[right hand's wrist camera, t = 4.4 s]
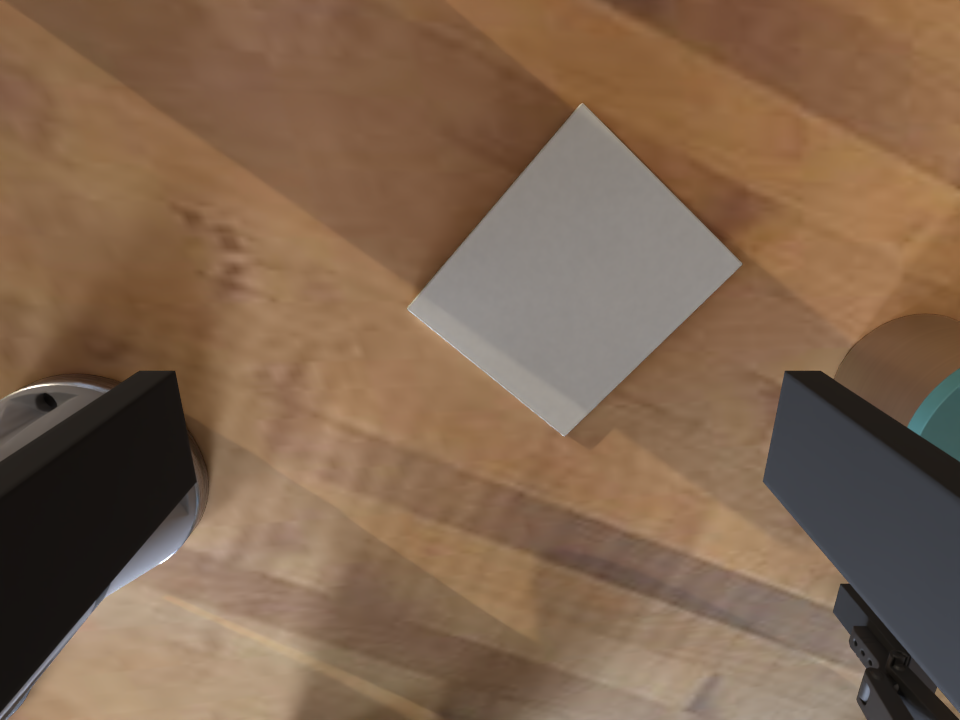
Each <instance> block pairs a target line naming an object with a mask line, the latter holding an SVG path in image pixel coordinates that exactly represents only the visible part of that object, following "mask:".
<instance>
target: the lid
mask: <svg viewBox="0 0 960 720" xmlns="http://www.w3.org/2000/svg"><path fill="white" fill-rule="evenodd" d="M907 428H909V429H910V430H912V431H914V432H915V433H917V434H918V435H920V436H921V437H923V438H924V439H926V440H927V441H929V442H930V443H932V444H933V445H935V446H937V447H938V448H940V449H941V450H943V451H944V452H946V453H947V454H949V455H950V456H952V457H953V458H955V459H956V460H958V461H960V368H959V369H957V370H956V371H955V372H953V373H952V374H950V375H949V376H948V377H946V378H945V379H944V380H943V381H942V382H941V383H940V384H939V385H938V386H936V387H935V388H934V389H933V391H932V392H931V393H930V394H929V395H928V396H927V397H926V398H925V399H924V401H923V402H922V403H921V405H920V406H919V407H918V409H917V410H916V412H915V413H914V415H913V417H912V419H911V420H910V422H909V424H908V426H907Z"/></svg>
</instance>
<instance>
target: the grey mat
mask: <svg viewBox="0 0 960 720" xmlns="http://www.w3.org/2000/svg"><path fill="white" fill-rule="evenodd" d="M741 265H742V262H741V261H740V260H739V259H738V258H737V257H736V256H735V255H734V254H733V253H732V252H731V251H730V250H729V249H728V248H727V247H726V246H725V245H724V244H723V243H722V242H721V241H720V240H719V239H718V238H717V237H716V236H715V235H714V234H713V233H712V232H711V231H710V230H709V229H708V228H707V227H706V226H705V225H704V224H703V223H702V222H701V221H700V220H699V219H698V218H697V217H696V216H695V215H694V214H693V213H692V212H691V211H690V210H689V209H688V208H687V207H686V206H685V205H684V204H683V203H682V202H681V201H680V200H679V199H678V198H677V197H676V196H675V195H674V194H673V193H672V192H671V191H670V190H669V189H668V188H667V187H666V186H665V185H664V184H663V183H662V182H661V181H660V180H659V179H658V178H657V177H656V176H655V175H654V174H653V173H652V172H651V171H650V170H649V169H648V168H647V167H646V166H645V165H644V164H643V163H642V162H641V161H640V160H639V159H638V158H637V157H636V156H635V155H634V154H633V153H632V152H631V151H630V150H629V149H628V148H627V147H626V146H625V145H624V144H623V143H622V142H621V141H620V140H619V139H618V138H617V137H616V136H615V135H614V134H613V133H612V132H611V131H610V130H609V129H608V128H607V127H606V126H605V125H604V124H603V123H602V122H601V121H600V120H599V119H598V118H597V117H596V116H595V115H594V114H593V113H592V112H591V111H590V110H589V109H588V108H587V107H586V106H585V105H584V104H583V103H581V104H580V105H579V106H578V107H577V108H576V110H575V111H574V112H573V113H572V114H571V116H570V117H569V118H568V119H567V120H566V121H565V123H564V124H563V125H562V126H561V127H560V128H559V130H558V131H557V132H556V133H555V134H554V136H553V137H552V138H551V139H550V140H549V141H548V143H547V144H546V145H545V146H544V147H543V148H542V150H541V151H540V152H539V153H538V154H537V156H536V157H535V158H534V159H533V160H532V161H531V163H530V164H529V165H528V166H527V167H526V168H525V170H524V171H523V172H522V173H521V174H520V175H519V177H518V178H517V179H516V180H515V181H514V183H513V184H512V185H511V186H510V187H509V188H508V190H507V191H506V192H505V193H504V194H503V195H502V197H501V198H500V199H499V200H498V201H497V203H496V204H495V205H494V206H493V207H492V208H491V210H490V211H489V212H488V213H487V214H486V215H485V217H484V218H483V219H482V220H481V221H480V223H479V224H478V225H477V226H476V227H475V228H474V230H473V231H472V232H471V233H470V234H469V235H468V237H467V238H466V239H465V240H464V241H463V242H462V244H461V245H460V246H459V247H458V248H457V250H456V251H455V252H454V253H453V254H452V255H451V257H450V258H449V259H448V260H447V261H446V262H445V264H444V265H443V266H442V267H441V268H440V270H439V271H438V272H437V273H436V274H435V275H434V277H433V278H432V279H431V280H430V281H429V282H428V284H427V285H426V286H425V287H424V288H423V290H422V291H421V292H420V293H419V294H418V295H417V297H416V298H415V299H414V300H413V301H412V302H411V304H410V305H409V306H408V308H407V309H408V310H409V311H410V312H411V313H412V314H414V315H415V316H416V317H417V318H419V319H420V320H421V321H422V322H423V323H425V324H426V325H427V326H428V327H430V328H431V329H432V330H433V331H435V332H436V333H437V334H438V335H440V336H441V337H442V338H443V339H444V340H446V341H447V342H448V343H449V344H451V345H452V346H453V347H454V348H456V349H457V350H458V351H459V352H460V353H462V354H463V355H464V356H465V357H467V358H468V359H469V360H470V361H472V362H473V363H474V364H475V365H477V366H478V367H479V368H480V369H481V370H483V371H484V372H485V373H486V374H488V375H489V376H490V377H491V378H493V379H494V380H495V381H496V382H497V383H499V384H500V385H501V386H502V387H504V388H505V389H506V390H507V391H509V392H510V393H511V394H512V395H514V396H515V397H516V398H517V399H518V400H520V401H521V402H522V403H523V404H525V405H526V406H527V407H528V408H530V409H531V410H532V411H533V412H534V413H536V414H537V415H538V416H539V417H541V418H542V419H543V420H544V421H546V422H547V423H548V424H549V425H550V426H552V427H553V428H554V429H555V430H557V431H558V432H559V433H560V434H562V435H563V436H564V437H565V436H566V435H567V434H568V433H569V432H570V431H571V430H572V429H573V428H574V427H575V426H576V425H577V424H578V423H579V422H580V421H581V420H582V419H583V418H584V417H585V416H586V415H588V414H589V413H590V412H591V411H592V410H593V409H594V408H595V407H596V406H597V405H598V404H599V403H600V402H601V401H602V400H603V399H604V398H605V397H606V396H607V395H608V394H609V393H610V392H611V391H612V390H613V389H614V388H615V387H616V386H617V385H618V384H620V383H621V382H622V381H623V380H624V379H625V378H626V377H627V376H628V375H629V374H630V373H631V372H632V371H633V370H634V369H635V368H636V367H637V366H638V365H639V364H640V363H641V362H642V361H643V360H644V359H645V358H646V357H647V356H648V355H649V354H651V353H652V352H653V351H654V350H655V349H656V348H657V347H658V346H659V345H660V344H661V343H662V342H663V341H664V340H665V339H666V338H667V337H668V336H669V335H670V334H671V333H672V332H673V331H674V330H675V329H676V328H677V327H678V326H679V325H680V324H681V323H683V322H684V321H685V320H686V319H687V318H688V317H689V316H690V315H691V314H692V313H693V312H694V311H695V310H696V309H697V308H698V307H699V306H700V305H701V304H702V303H703V302H704V301H705V300H706V299H707V298H708V297H709V296H710V295H711V294H712V293H713V292H715V291H716V290H717V289H718V288H719V287H720V286H721V285H722V284H723V283H724V282H725V281H726V280H727V279H728V278H729V277H730V276H731V275H732V274H733V273H734V272H735V271H736V270H737V269H738V268H739V267H740V266H741Z"/></svg>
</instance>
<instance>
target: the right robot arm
mask: <svg viewBox="0 0 960 720" xmlns="http://www.w3.org/2000/svg"><path fill="white" fill-rule="evenodd" d="M763 482H764V483H765V485H766V486H767V487H768V488H769V489H770V490H771V492H772V493H773V494H774V495H775V496H776V498H777V499H778V500H779V501H780V502H781V503H782V505H783V506H784V507H785V508H786V509H787V510H788V512H789V513H790V514H791V515H792V516H793V518H794V519H795V520H796V521H797V522H798V523H799V525H800V526H801V527H802V528H803V529H804V530H805V532H806V533H807V534H808V535H809V536H810V538H811V539H812V540H813V541H814V542H815V543H816V545H817V546H818V547H819V548H820V549H821V550H822V552H823V553H824V554H825V555H826V556H827V558H828V559H829V560H830V561H831V562H832V563H833V565H834V566H835V567H836V568H837V569H838V570H839V572H840V573H841V574H842V575H843V576H844V578H845V579H846V580H847V581H848V582H849V583H850V585H851V586H852V587H853V588H854V589H855V590H856V592H857V593H858V594H859V595H860V596H861V597H862V599H863V600H864V601H865V602H866V603H867V605H868V606H869V607H870V608H871V609H872V610H873V612H874V613H875V614H876V615H877V616H878V617H879V619H880V620H881V621H882V622H883V623H884V625H885V626H886V627H887V628H888V629H889V630H890V632H891V633H892V634H893V635H894V636H895V637H896V639H897V640H898V641H899V642H900V643H901V645H902V646H903V647H904V648H905V649H906V650H907V652H908V653H909V654H910V655H911V656H912V657H913V659H914V660H915V661H916V662H917V663H918V665H919V666H920V667H921V668H922V669H923V670H924V672H925V673H926V674H927V675H928V676H929V677H930V679H931V680H932V681H933V682H934V683H935V685H936V686H937V687H938V688H939V689H940V690H941V692H942V693H943V694H944V695H945V696H946V697H947V699H948V700H949V701H950V702H951V703H952V705H953V706H954V707H955V708H956V709H957V710H958V712H959V713H960V461H958V460H956V459H955V458H953V457H952V456H950V455H949V454H947V453H946V452H944V451H943V450H941V449H940V448H938V447H937V446H935V445H933V444H932V443H930V442H929V441H927V440H926V439H924V438H923V437H921V436H920V435H918V434H917V433H915V432H914V431H912V430H910V429H909V428H907V427H906V426H904V425H903V424H901V423H900V422H898V421H897V420H895V419H894V418H892V417H890V416H889V415H887V414H886V413H884V412H883V411H881V410H880V409H878V408H877V407H875V406H874V405H872V404H871V403H869V402H867V401H866V400H864V399H863V398H861V397H860V396H858V395H857V394H855V393H854V392H852V391H851V390H849V389H848V388H846V387H844V386H843V385H841V384H840V383H838V382H837V381H835V380H834V379H832V378H831V377H829V376H828V375H826V374H825V373H823V372H821V371H785V373H784V378H783V383H782V388H781V393H780V398H779V403H778V408H777V413H776V418H775V424H774V429H773V434H772V439H771V444H770V449H769V454H768V459H767V464H766V469H765V474H764V479H763ZM208 487H209V484H208V474H207V470H206V465H205V462H204V459H203V456H202V454H201V452H200V450H199V447H198V446H197V444H196V442H195V440H194V439H193V437H192V436H191V434H190V433H189V431H188V430H187V429H186V424H185V418H184V413H183V408H182V403H181V398H180V393H179V388H178V383H177V378H176V373H175V371H139V372H137V373H135V374H134V375H132V376H131V377H129V378H128V379H126V380H125V381H123V382H119V381H116V380H113V379H109V378H105V377H101V376H94V375H86V374H64V375H56V376H52V377H47V378H44V379H41V380H38V381H35V382H33V383H31V384H29V385H27V386H25V387H23V388H21V389H19V390H17V391H15V392H13V393H11V394H9V395H8V396H6V397H4V398H3V399H1V400H0V720H7V719H8V718H9V717H10V716H11V715H12V714H13V713H14V712H15V711H16V710H17V709H18V708H19V707H20V706H21V704H22V703H23V702H24V700H25V699H26V697H27V695H28V693H29V691H30V689H31V687H32V686H33V685H34V684H35V682H36V681H37V680H38V679H39V677H40V676H41V675H42V674H43V672H44V671H45V670H46V669H47V667H48V666H49V665H50V664H51V662H52V661H53V660H54V659H55V658H56V656H57V655H58V654H59V653H60V651H61V650H62V649H63V648H64V646H65V645H66V644H67V643H68V641H69V640H70V639H71V638H72V637H73V635H74V634H75V633H76V632H77V630H78V629H79V628H80V627H81V625H82V624H83V623H84V622H85V620H86V619H87V618H88V616H89V615H90V614H91V613H92V612H93V610H94V609H95V608H96V607H97V606H98V605H99V603H100V602H101V601H102V600H103V599H104V598H105V597H106V596H108V595H110V594H111V593H113V592H115V591H116V590H118V589H119V588H121V587H123V586H124V585H126V584H127V583H129V582H131V581H132V580H134V579H136V578H137V577H139V576H140V575H142V574H144V573H145V572H147V571H148V570H150V569H152V568H153V567H155V566H157V565H158V564H160V563H162V562H163V561H165V560H166V559H168V558H169V557H171V556H172V555H173V554H174V553H175V552H176V551H177V550H178V549H179V548H180V547H181V546H182V545H183V544H184V542H185V541H186V540H187V538H188V537H189V536H190V534H191V533H192V532H193V530H194V529H195V528H196V526H197V525H198V523H199V521H200V520H201V518H202V516H203V513H204V511H205V508H206V504H207V500H208Z"/></svg>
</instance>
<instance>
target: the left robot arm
mask: <svg viewBox="0 0 960 720" xmlns="http://www.w3.org/2000/svg"><path fill="white" fill-rule="evenodd" d="M833 613H834V614H835V615H836V617H837V618H838V619H839V621H840V622H841V623H842V625H843V626H844V627H845V629H846V630H847V631H848V632H849V634H850V635H851V636H850V639H849V644H850V647H851V648H852V650H853V651H854V653H856V655H857V657H858V658H859V659H860V661H861V662H862V663H863V665H864V666H865V667H866V670H865V673H864V676H863V679H862V682H861V686H860V689H859V692H858V696H857V702H858V704H859V706H860V708H861V710H862V711H863V713H864V715H865V717H866V719H867V720H959V719H958V718H957V717H956V716H955V715H954V714H953V713H952V712H951V711H950V709H949V708H948V707H947V706H946V705H945V704H944V703H943V702H942V701H941V700H940V699H939V698H938V697H937V696H936V695H935V694H934V693H933V692H932V691H931V690H930V689H929V688H928V687H927V686H926V685H925V684H924V683H923V682H922V681H921V680H920V679H919V678H918V676H917V675H916V674H915V673H914V672H913V671H912V670H911V669H910V668H909V667H908V665H909V662H910V659H911V655H910V654H909V653H908V652H907V650H906V649H905V648H904V647H903V646H902V645H901V643H900V642H899V641H898V640H897V639H896V637H895V636H894V635H893V634H892V633H891V632H890V630H889V629H888V628H887V627H886V626H885V625H884V623H883V622H882V621H881V620H880V619H879V617H878V616H877V615H876V614H875V613H874V612H873V610H872V609H871V608H870V607H869V606H868V605H867V603H866V602H865V601H864V600H863V599H862V597H861V596H860V595H859V594H858V593H857V592H856V590H855V589H854V588H853V587H852V586H851V585H850V584H840V588H839V591H838V595H837V599H836V602H835V606H834V610H833Z"/></svg>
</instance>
